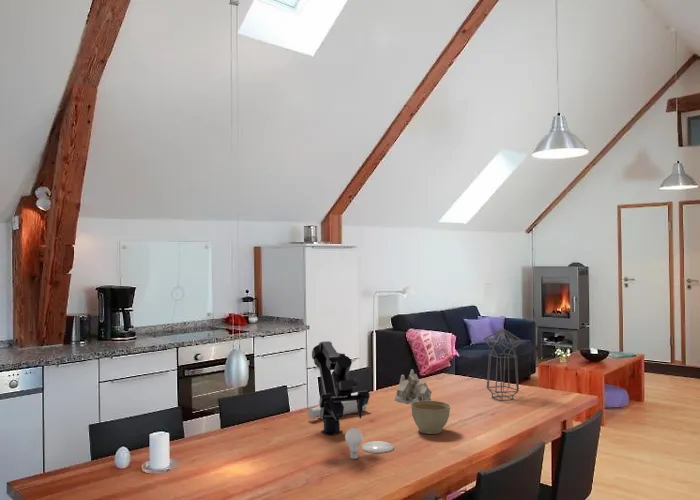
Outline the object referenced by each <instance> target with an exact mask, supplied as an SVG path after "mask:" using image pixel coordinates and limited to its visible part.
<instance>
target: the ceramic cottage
mask: <svg viewBox="0 0 700 500" xmlns="http://www.w3.org/2000/svg"><path fill="white" fill-rule="evenodd" d="M395 390H396V395H395V397H394V401H395V402H397V403H402V404H412V403H413V402H417V401H432V399H431V396H432V390H430V389H429V387H428V384H427V382H426V381H423V382H421V381H420V379H419V377H418V375H417V373H415V371H414V369H410V372H409V375H408V376H407V379H406V378H405V374H401V375H400V379H399V384H398V386H397V388H396V389H395Z"/></svg>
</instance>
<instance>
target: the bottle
mask: <svg viewBox="0 0 700 500" xmlns="http://www.w3.org/2000/svg"><path fill="white" fill-rule="evenodd" d="M357 394H358V391H356V392H352V393H351V395H357ZM341 403H343V406H344V410H343V416H344V415H350V414H357V413H358V409H357V401H344V402H341ZM367 406H369V402H368V403H367V404H365V406H363V407H362V412H364V411H366V410H367ZM320 410H321V407H320V405H319V404H317V406H315V407H311V408H308V411H307V414H308V417H309V419H311V420H312V419H315V418H320V419H322V418H321V417H320Z"/></svg>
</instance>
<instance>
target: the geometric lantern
mask: <svg viewBox="0 0 700 500" xmlns="http://www.w3.org/2000/svg"><path fill="white" fill-rule="evenodd" d="M490 337H491V338H490ZM516 339H517V340H516ZM483 340H484V341H485V342H486V344H487V345H488V362H487V363H488V364H487V365H488V366H487V375H486V376H487V379H486V389H487V390H488V391H489V392H490V393H491V398H492V399H493V400H494V399H495V400H497V401H500V402H505V401H506V399H503V398H504V397H505V398H506V397H507V398H508V399H507V401H513V400H514V397H515V396H516V394H517V393H518V392H519V391H520V390H519V389H520V387H519V384H520V383H519V369H518V367H519V365H518V364H519V363H518V362H519V361H518V355H517V352H516V348H518V347H519V345H521V344H522V343H524V342H525V341H524V340H523V339H521V338H520V337H518V336H517V335H514V333H512V332H510V331H508V330H507V329H504V328H502V329H500V330H497V331H496V332H494V333H492V334H490V335H488V336H486V337H484V338H483ZM507 340H508V341H509V342H507ZM490 344H491V345H490ZM505 344H506V345H505ZM508 344H511V347H509V345H508ZM501 345H502V346H503V347H504V350H503V348H502V347H501ZM495 346H497V347H498V346H499V348H500V349H501V350H502V353H500V354H499V356H498V353H497V352H496V350H495ZM491 348H492V349H491ZM490 350H491V351H490ZM506 350H509V351H508V353H506V352H505V351H506ZM493 351H494V353H493ZM511 352H512V353H513V354H510V353H511ZM502 355H504V356H502ZM492 357H494V358H496V369H495V373H496V374H495V386H490V378H491V377H490V376H491V368H492V367H491V365H492ZM510 358H511V359H512V358H514V367H515V368H514V369H515V370H514V371H515V383H516V388H514V387H510ZM498 359H499V360H498ZM502 359H504V361H503V362H504V364H503V372H502ZM506 359H507V376H508V377H507V379H508V380H507V382H508V383H507V385H508V386H507V385H506V386H505V376H506ZM498 362H499V363H498ZM499 365H500V366H499ZM498 366H499V370H500V373H499V374H500V385H497V383H498ZM502 373H503V374H502ZM502 376H503V379H502ZM502 380H503V381H502ZM493 388H495V390H494V389H493ZM498 388H500V391H497V389H498ZM505 388H507V389H506V390H505ZM509 389H511V390H510V391H509ZM512 390H513V391H512ZM513 393H514V394H513ZM506 394H507V395H506ZM494 395H495V396H494ZM496 397H497V398H496ZM498 397H499V398H501V399H499V398H498Z"/></svg>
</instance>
